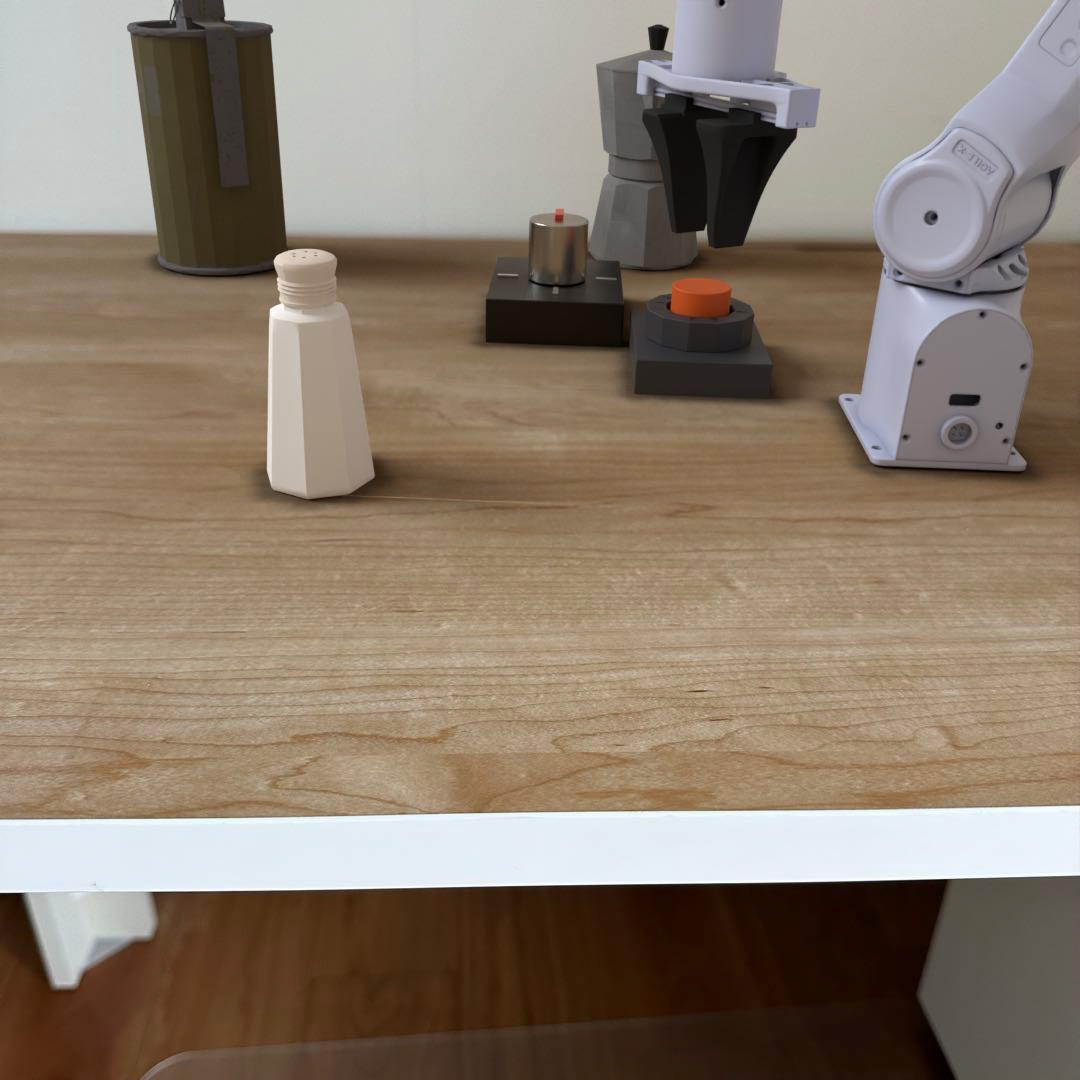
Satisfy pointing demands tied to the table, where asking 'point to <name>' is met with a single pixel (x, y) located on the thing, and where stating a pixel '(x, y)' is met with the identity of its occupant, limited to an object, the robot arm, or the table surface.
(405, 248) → the table surface
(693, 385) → the switch block
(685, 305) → the power button
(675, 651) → the table surface
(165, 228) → the canister
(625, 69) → the coffeepot
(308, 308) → the pepper shaker
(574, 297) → the dial panel
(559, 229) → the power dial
